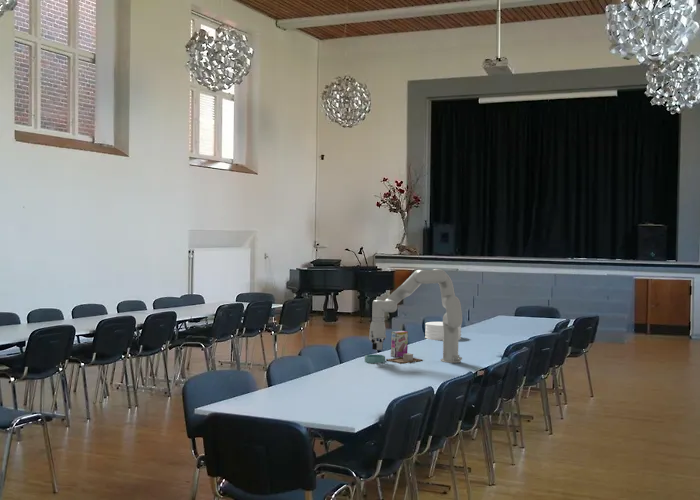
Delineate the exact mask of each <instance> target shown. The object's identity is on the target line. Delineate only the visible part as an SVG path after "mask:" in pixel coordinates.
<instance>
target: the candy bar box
mask: <svg viewBox="0 0 700 500" xmlns="http://www.w3.org/2000/svg"><path fill="white" fill-rule="evenodd" d="M390 336H391V338H390V357H392V358H400V357H403V354H406V353H408V347H409V344H408V343H409V331H406V330H398V331H391V335H390Z"/></svg>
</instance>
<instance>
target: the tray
mask: <svg viewBox="0 0 700 500" xmlns="http://www.w3.org/2000/svg"><path fill="white" fill-rule="evenodd" d="M386 361H387V362H392V363H397V364H408V363H417V362H423V359H421V358H416V357H413V361H405V362H404V361H403V356H401V357H392V358H387V359H386V358H385V362H386Z"/></svg>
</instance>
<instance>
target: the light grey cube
mask: <svg viewBox="0 0 700 500" xmlns="http://www.w3.org/2000/svg"><path fill="white" fill-rule="evenodd" d="M376 343H377V347H376V350H375V351H380V350H381V351H382V350H383V349H382V344H383V343H384V342H379V340H378V341H377V340H376ZM383 345H384V344H383Z"/></svg>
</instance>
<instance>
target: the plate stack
mask: <svg viewBox="0 0 700 500" xmlns="http://www.w3.org/2000/svg"><path fill="white" fill-rule="evenodd" d="M424 328H425V330H424V331H425V332H424V335H425V336H424V339H428V340H431V341H443V321H429V322H428V321H427V322H425V326H424ZM458 331H459V337H458V341H460V340H462V326H460V327H458Z"/></svg>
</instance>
